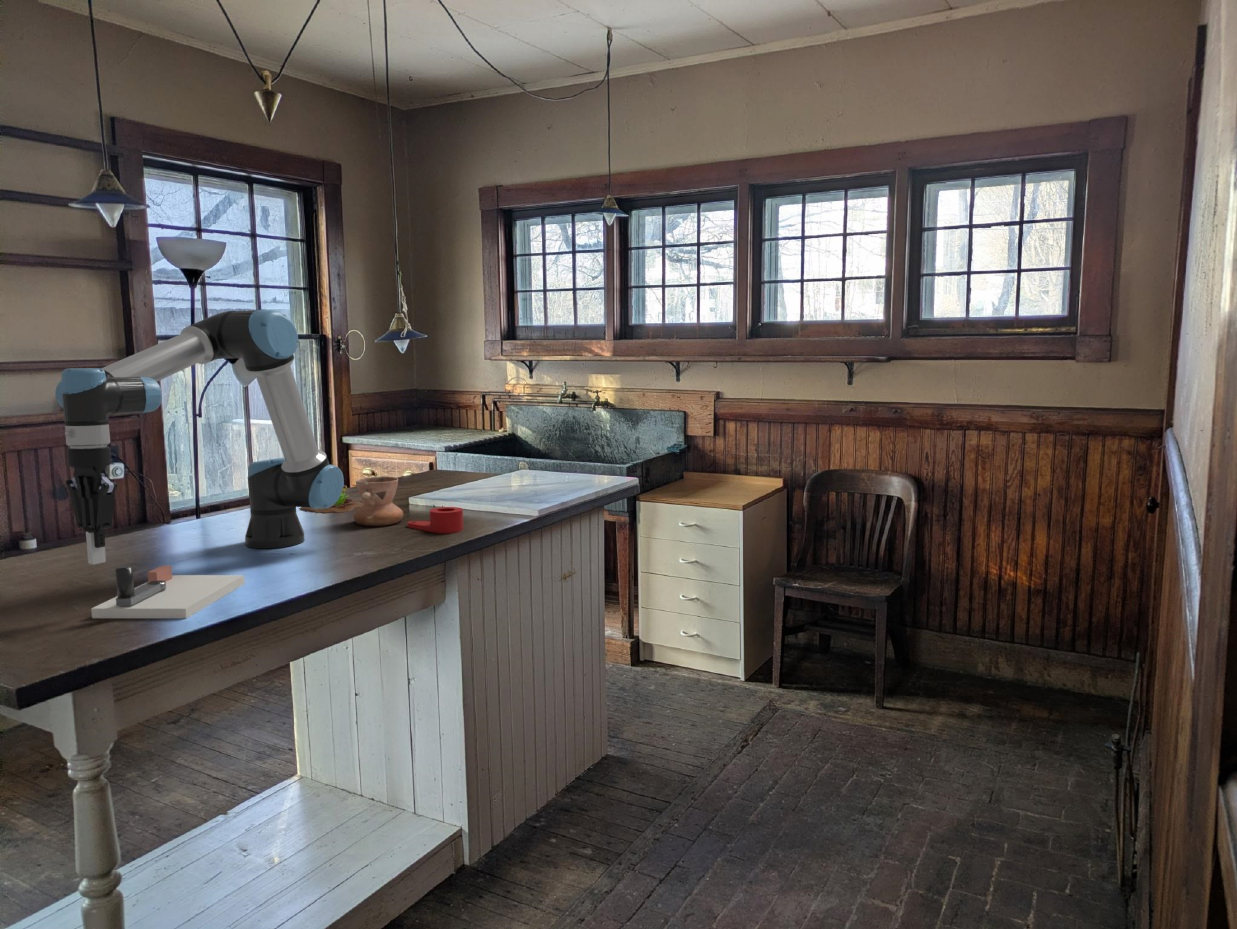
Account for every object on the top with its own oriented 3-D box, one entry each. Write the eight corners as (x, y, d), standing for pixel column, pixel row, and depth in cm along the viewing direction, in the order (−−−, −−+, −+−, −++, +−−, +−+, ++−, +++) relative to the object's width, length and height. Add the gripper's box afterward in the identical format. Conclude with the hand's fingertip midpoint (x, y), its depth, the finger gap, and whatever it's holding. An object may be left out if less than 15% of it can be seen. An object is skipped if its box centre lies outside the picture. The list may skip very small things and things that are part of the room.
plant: (330, 506, 303) (329, 473, 301) (377, 509, 295) (376, 476, 294) (288, 516, 285) (286, 482, 283) (337, 520, 277) (335, 485, 276)
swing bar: (152, 587, 190) (150, 552, 189) (169, 587, 190) (166, 552, 189) (113, 606, 176) (110, 569, 175) (131, 606, 176) (128, 569, 175)
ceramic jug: (389, 531, 257) (387, 483, 256) (343, 530, 260) (341, 482, 258) (414, 520, 275) (412, 474, 273) (370, 518, 277) (368, 474, 276)
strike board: (162, 583, 201) (160, 562, 201) (244, 583, 201) (243, 562, 200) (92, 618, 176) (89, 593, 175) (186, 618, 175) (184, 593, 175)
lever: (469, 530, 259) (468, 508, 259) (452, 536, 251) (451, 513, 250) (417, 526, 266) (417, 504, 265) (399, 532, 258) (398, 509, 257)
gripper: (49, 446, 175) (58, 563, 178) (90, 449, 169) (99, 570, 172) (86, 443, 181) (94, 556, 184) (127, 446, 176) (135, 562, 178)
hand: (97, 562), depth 178 cm, fingers closed
